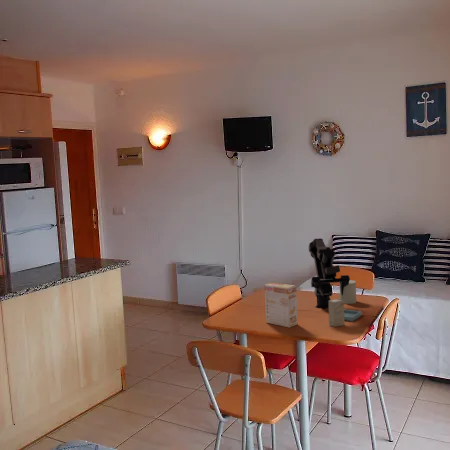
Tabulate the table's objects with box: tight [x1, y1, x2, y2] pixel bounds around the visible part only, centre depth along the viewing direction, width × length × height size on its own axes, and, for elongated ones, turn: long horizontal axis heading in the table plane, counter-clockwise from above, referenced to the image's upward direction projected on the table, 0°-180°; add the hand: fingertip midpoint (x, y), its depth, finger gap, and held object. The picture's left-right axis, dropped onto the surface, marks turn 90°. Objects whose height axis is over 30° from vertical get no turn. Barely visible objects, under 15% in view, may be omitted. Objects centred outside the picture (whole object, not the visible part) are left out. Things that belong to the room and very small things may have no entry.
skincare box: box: [328, 298, 346, 328], centre depth 246 cm, size 6×4×12 cm
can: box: [338, 279, 358, 305], centre depth 287 cm, size 9×9×12 cm
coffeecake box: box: [264, 282, 298, 328], centre depth 253 cm, size 15×7×20 cm, turn 44°
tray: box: [344, 308, 363, 322], centre depth 259 cm, size 12×12×2 cm
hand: (333, 295), depth 253 cm, fingers open, 9 cm apart
